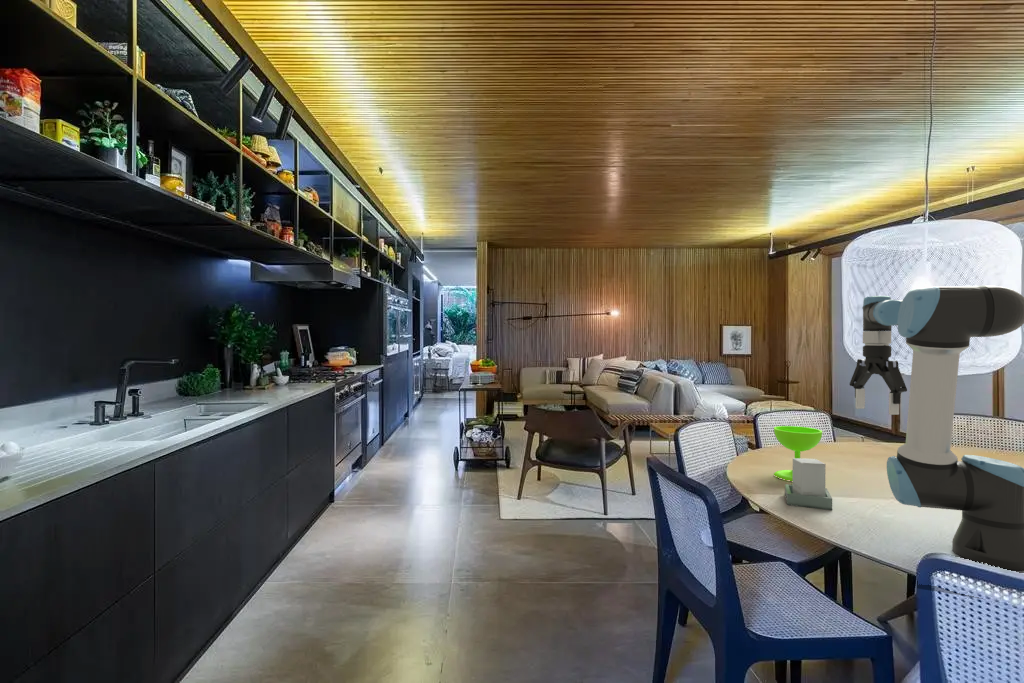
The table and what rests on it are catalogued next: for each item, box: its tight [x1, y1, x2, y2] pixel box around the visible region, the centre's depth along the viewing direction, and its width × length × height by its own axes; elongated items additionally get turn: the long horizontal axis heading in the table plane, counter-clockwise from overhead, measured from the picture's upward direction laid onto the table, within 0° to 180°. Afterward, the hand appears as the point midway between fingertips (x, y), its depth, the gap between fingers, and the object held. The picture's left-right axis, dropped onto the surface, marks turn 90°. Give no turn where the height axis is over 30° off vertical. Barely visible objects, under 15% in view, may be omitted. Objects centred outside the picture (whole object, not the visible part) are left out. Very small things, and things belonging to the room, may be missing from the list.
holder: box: [784, 483, 833, 511], centre depth 167 cm, size 12×12×4 cm
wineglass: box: [773, 425, 823, 481], centre depth 197 cm, size 16×16×18 cm
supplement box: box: [792, 457, 826, 497], centre depth 167 cm, size 7×7×13 cm
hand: (876, 411), depth 168 cm, fingers open, 13 cm apart
